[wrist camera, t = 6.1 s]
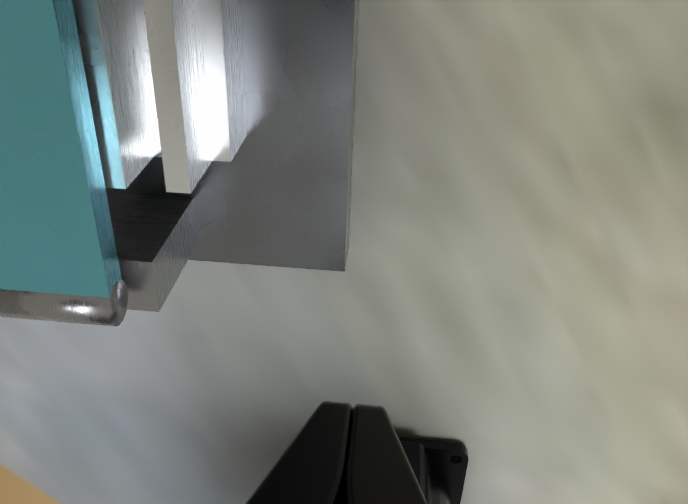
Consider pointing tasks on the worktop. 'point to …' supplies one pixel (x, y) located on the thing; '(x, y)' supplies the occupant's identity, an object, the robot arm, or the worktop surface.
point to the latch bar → (52, 176)
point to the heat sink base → (286, 144)
